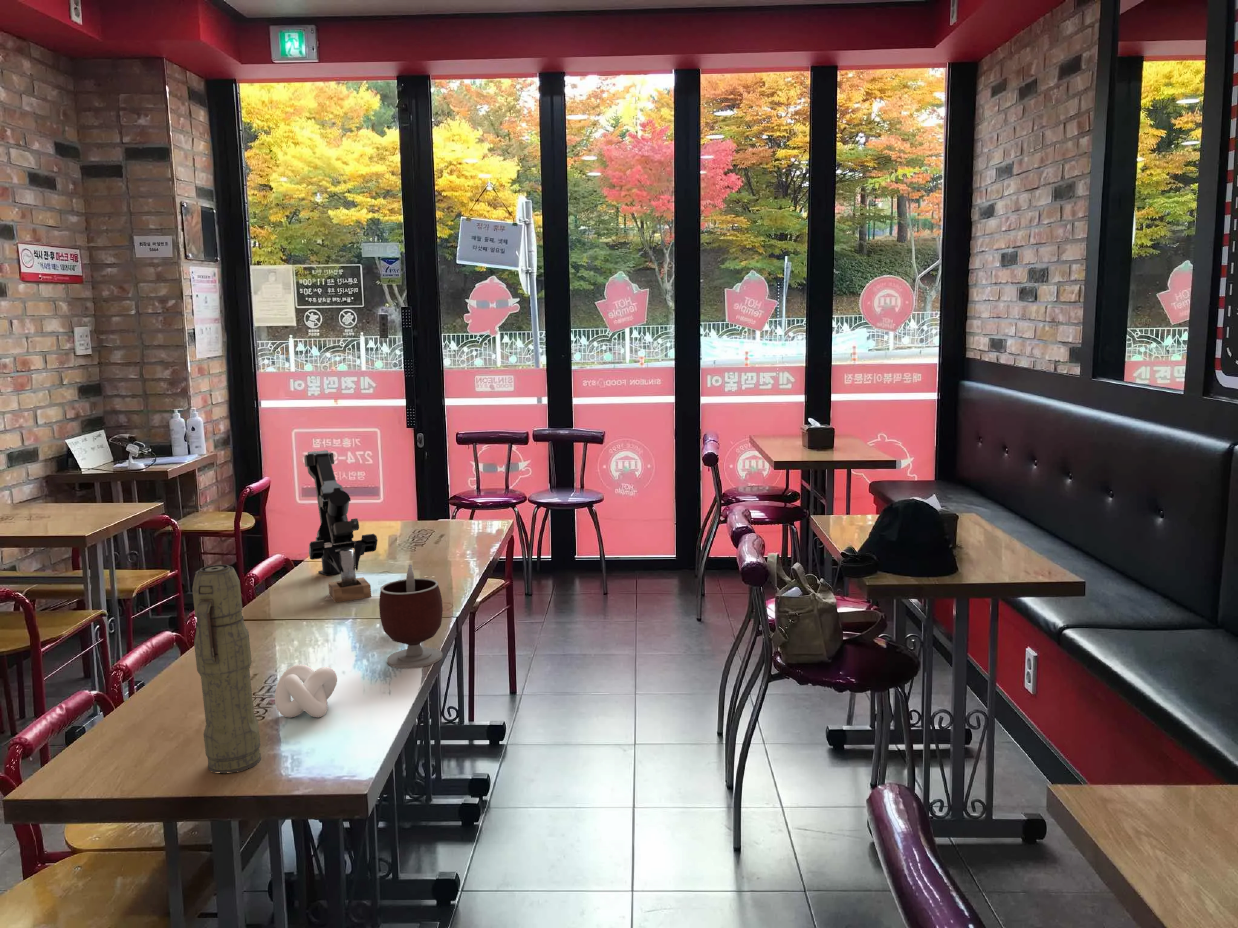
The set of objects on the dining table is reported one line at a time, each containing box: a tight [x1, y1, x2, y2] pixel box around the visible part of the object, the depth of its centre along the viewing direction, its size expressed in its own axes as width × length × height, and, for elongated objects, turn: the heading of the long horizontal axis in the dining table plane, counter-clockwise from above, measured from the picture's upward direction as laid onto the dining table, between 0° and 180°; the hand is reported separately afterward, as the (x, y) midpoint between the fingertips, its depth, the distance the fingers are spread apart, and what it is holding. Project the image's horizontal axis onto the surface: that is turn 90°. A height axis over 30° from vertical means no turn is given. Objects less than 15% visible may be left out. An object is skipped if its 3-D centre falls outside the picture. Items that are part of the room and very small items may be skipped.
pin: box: [339, 548, 357, 587], centre depth 276 cm, size 4×4×13 cm
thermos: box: [191, 564, 262, 773], centre depth 167 cm, size 9×12×35 cm
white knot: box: [274, 663, 338, 718], centre depth 190 cm, size 11×12×9 cm
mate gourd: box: [378, 563, 444, 669], centre depth 220 cm, size 16×14×20 cm
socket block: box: [327, 577, 372, 603], centre depth 277 cm, size 10×10×4 cm
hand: (348, 570), depth 275 cm, fingers open, 4 cm apart
